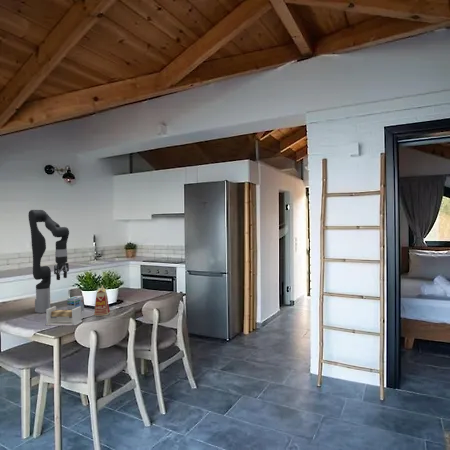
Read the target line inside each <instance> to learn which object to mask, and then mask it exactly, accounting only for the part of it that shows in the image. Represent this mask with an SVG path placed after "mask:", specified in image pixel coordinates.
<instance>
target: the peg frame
mask: <svg viewBox="0 0 450 450" xmlns="http://www.w3.org/2000/svg"><path fill="white" fill-rule="evenodd" d="M55 310H57V306H56V305H53V306H52V307H51V306H50V308H49V309H46V312H45V313H46V319H45V320H46V324H45V326H77V325H79V324H81V323H82V322H83V320H82V311H81V306H79V307H77V308H75V309H72V317H52V311H55Z"/></svg>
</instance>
